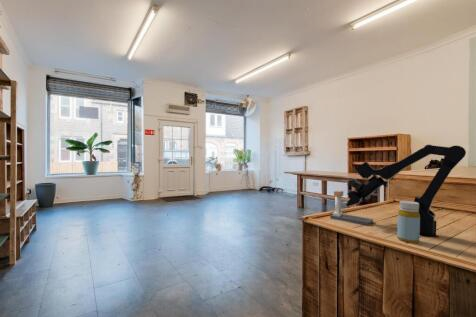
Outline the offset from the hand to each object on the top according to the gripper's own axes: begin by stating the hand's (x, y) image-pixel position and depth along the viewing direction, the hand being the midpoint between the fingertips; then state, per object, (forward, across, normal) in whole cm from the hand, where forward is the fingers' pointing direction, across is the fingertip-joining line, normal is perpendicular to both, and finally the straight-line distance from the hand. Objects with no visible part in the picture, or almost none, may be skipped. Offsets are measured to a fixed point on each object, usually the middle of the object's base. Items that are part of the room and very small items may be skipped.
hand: (346, 205), depth 124 cm
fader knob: (+7, 0, +1) cm, 7 cm away
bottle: (-14, +15, +25) cm, 33 cm away
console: (+4, 0, +7) cm, 8 cm away
